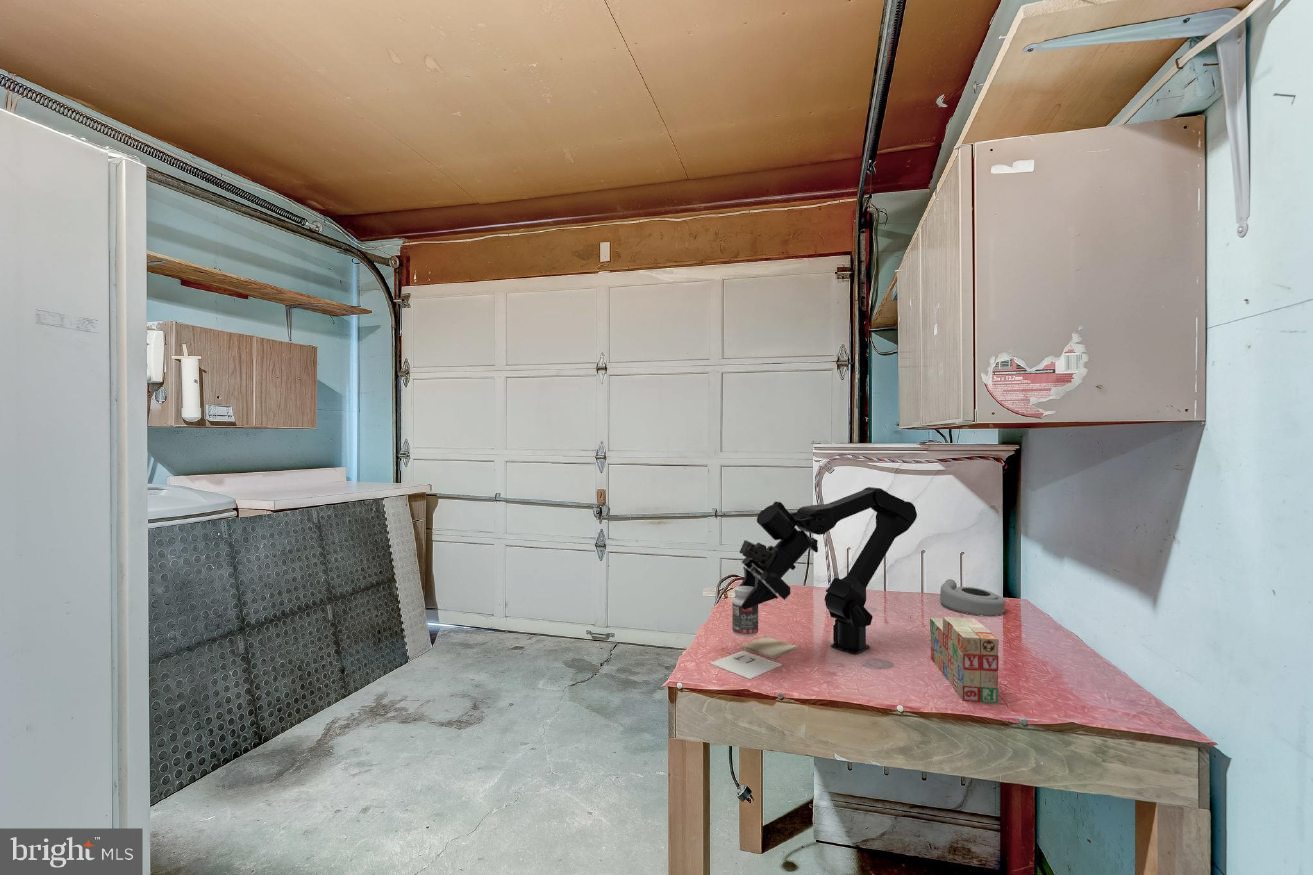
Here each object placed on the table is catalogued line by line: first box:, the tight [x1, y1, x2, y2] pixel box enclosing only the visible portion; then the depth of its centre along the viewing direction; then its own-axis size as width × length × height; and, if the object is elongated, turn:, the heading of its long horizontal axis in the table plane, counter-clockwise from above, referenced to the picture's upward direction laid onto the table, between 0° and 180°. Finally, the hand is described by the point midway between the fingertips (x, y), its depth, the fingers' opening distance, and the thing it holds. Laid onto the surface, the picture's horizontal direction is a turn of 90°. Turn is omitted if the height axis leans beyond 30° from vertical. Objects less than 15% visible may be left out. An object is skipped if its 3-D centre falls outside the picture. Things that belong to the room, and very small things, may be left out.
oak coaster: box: [741, 636, 797, 659], centre depth 134 cm, size 9×9×1 cm
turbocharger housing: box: [939, 578, 1006, 617], centre depth 166 cm, size 17×6×15 cm
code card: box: [709, 650, 783, 680], centre depth 124 cm, size 11×11×1 cm
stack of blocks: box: [929, 616, 1000, 704], centre depth 117 cm, size 21×6×12 cm, turn 169°
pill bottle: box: [731, 585, 759, 638], centre depth 127 cm, size 6×6×10 cm
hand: (739, 604), depth 127 cm, fingers closed on pill bottle, 6 cm apart
